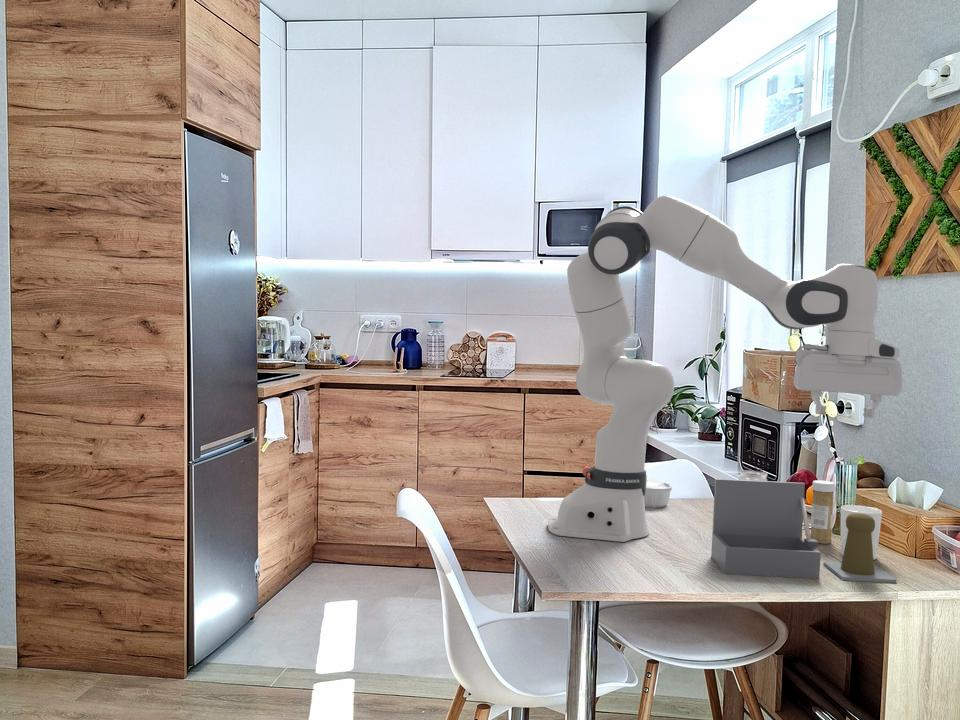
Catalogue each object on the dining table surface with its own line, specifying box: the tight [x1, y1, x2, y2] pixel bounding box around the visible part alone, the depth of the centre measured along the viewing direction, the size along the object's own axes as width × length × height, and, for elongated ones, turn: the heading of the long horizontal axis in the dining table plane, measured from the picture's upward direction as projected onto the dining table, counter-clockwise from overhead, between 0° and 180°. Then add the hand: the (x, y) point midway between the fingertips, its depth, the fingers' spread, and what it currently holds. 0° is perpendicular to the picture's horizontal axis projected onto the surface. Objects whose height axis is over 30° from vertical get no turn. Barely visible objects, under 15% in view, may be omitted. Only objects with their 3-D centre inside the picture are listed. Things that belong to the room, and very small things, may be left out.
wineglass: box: [737, 469, 769, 481], centre depth 204 cm, size 7×7×12 cm
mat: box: [822, 561, 898, 584], centre depth 164 cm, size 10×10×1 cm
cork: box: [841, 513, 875, 575], centre depth 163 cm, size 6×6×11 cm
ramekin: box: [644, 479, 673, 508], centre depth 221 cm, size 11×11×5 cm
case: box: [710, 478, 822, 580], centre depth 165 cm, size 18×12×16 cm, turn 87°
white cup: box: [839, 504, 883, 560], centre depth 176 cm, size 8×8×10 cm
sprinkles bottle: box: [810, 479, 836, 545], centre depth 187 cm, size 5×5×13 cm
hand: (844, 415), depth 168 cm, fingers open, 8 cm apart
